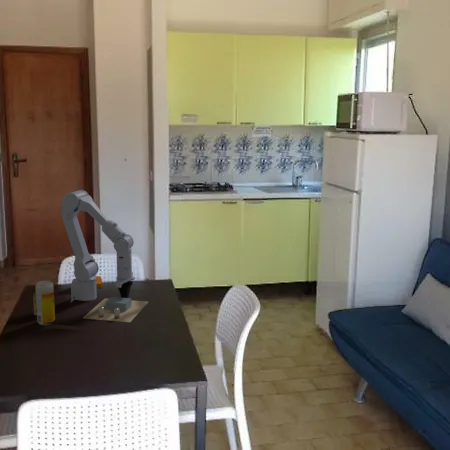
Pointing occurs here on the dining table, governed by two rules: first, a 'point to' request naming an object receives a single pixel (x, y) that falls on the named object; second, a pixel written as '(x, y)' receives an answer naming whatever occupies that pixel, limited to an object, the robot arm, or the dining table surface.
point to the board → (124, 315)
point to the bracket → (99, 282)
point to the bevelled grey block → (118, 303)
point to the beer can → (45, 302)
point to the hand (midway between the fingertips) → (124, 299)
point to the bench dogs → (116, 312)
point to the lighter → (35, 303)
